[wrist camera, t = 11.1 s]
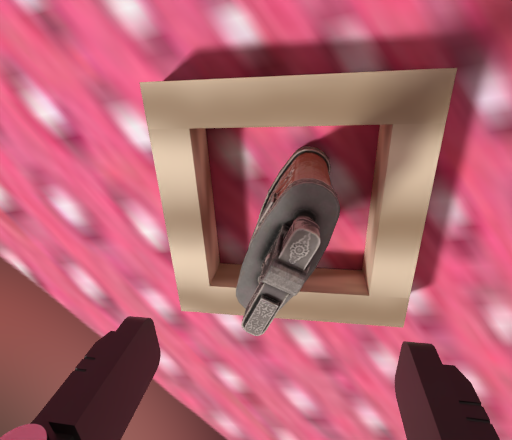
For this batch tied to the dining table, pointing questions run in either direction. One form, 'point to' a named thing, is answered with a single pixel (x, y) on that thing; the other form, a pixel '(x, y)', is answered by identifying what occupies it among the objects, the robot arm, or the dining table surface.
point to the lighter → (287, 237)
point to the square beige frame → (303, 114)
